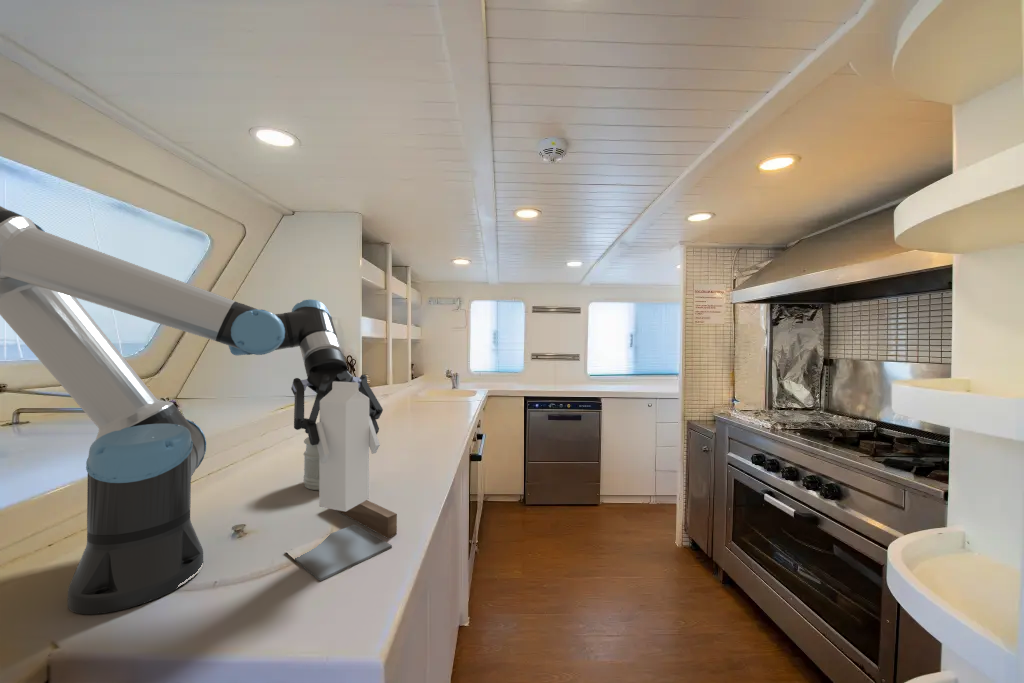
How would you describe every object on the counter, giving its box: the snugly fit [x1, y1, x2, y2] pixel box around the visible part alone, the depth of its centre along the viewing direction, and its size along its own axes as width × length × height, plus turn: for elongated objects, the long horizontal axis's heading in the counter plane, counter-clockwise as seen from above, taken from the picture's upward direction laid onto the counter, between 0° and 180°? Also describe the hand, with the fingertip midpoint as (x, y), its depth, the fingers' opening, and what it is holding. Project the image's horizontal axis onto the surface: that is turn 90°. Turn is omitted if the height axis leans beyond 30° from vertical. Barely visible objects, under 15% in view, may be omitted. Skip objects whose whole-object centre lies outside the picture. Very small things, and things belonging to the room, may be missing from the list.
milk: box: [318, 381, 370, 512], centre depth 71 cm, size 6×6×22 cm
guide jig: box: [294, 499, 398, 582], centre depth 75 cm, size 16×26×4 cm, turn 52°
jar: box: [303, 436, 319, 491], centre depth 104 cm, size 13×13×18 cm
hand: (351, 453), depth 68 cm, fingers closed on milk, 8 cm apart
